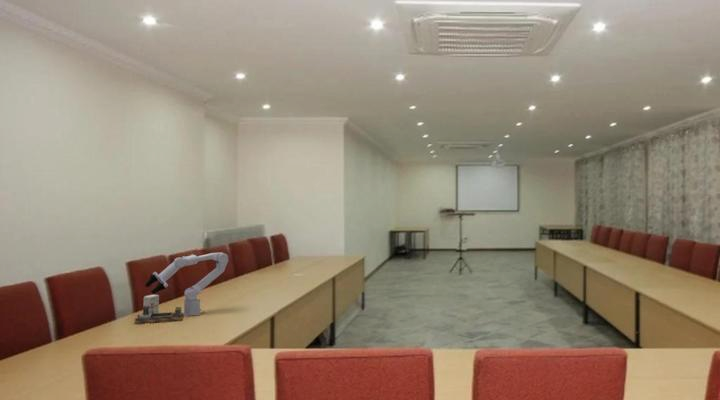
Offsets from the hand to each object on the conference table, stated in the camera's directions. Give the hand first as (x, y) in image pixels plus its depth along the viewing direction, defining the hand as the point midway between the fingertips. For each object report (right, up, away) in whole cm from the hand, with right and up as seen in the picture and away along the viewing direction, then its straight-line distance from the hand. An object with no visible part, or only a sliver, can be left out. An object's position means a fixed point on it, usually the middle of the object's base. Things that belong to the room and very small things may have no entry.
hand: (149, 289), depth 268 cm
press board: (+8, -17, -3) cm, 19 cm away
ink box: (-4, -18, +10) cm, 21 cm away
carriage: (+1, -16, -5) cm, 17 cm away
